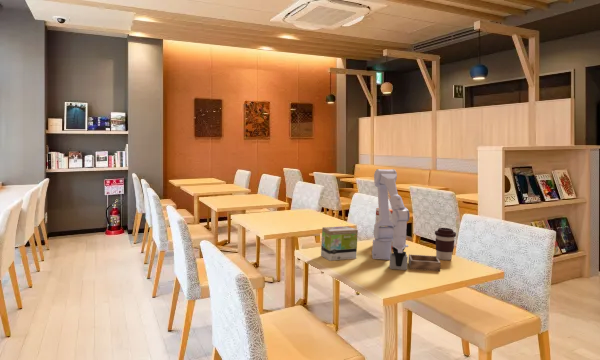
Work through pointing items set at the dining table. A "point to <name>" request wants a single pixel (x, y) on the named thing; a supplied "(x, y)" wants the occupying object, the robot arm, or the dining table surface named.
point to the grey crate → (393, 262)
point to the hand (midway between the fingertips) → (398, 264)
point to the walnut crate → (424, 262)
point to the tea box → (339, 243)
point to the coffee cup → (444, 243)
